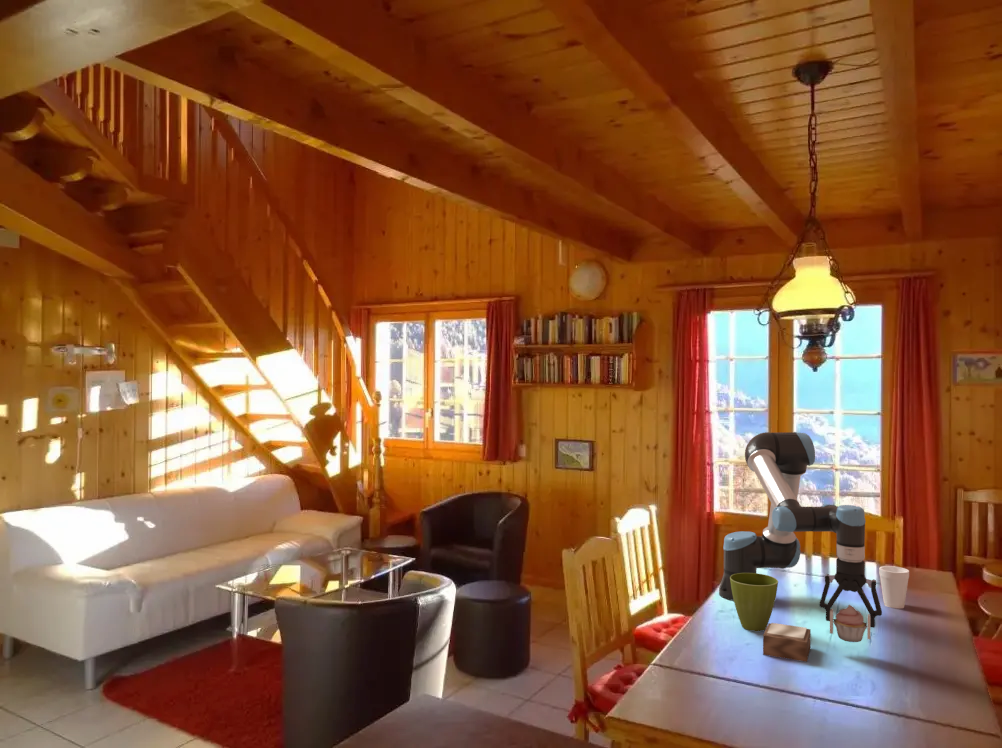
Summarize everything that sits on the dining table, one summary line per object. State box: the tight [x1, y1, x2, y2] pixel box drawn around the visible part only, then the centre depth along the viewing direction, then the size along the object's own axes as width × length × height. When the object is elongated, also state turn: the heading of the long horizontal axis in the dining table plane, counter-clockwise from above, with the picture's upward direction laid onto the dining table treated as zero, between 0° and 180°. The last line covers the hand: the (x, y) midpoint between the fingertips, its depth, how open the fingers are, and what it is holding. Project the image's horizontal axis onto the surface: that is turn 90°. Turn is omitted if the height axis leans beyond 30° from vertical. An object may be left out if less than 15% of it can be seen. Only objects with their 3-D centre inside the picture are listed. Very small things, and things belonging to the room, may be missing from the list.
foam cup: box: [878, 565, 910, 610], centre depth 262 cm, size 10×9×13 cm
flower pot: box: [730, 572, 779, 632], centre depth 240 cm, size 15×15×16 cm
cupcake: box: [833, 604, 868, 643], centre depth 216 cm, size 9×9×10 cm
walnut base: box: [762, 622, 812, 663], centre depth 219 cm, size 12×12×6 cm
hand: (849, 634), depth 216 cm, fingers closed on cupcake, 9 cm apart
